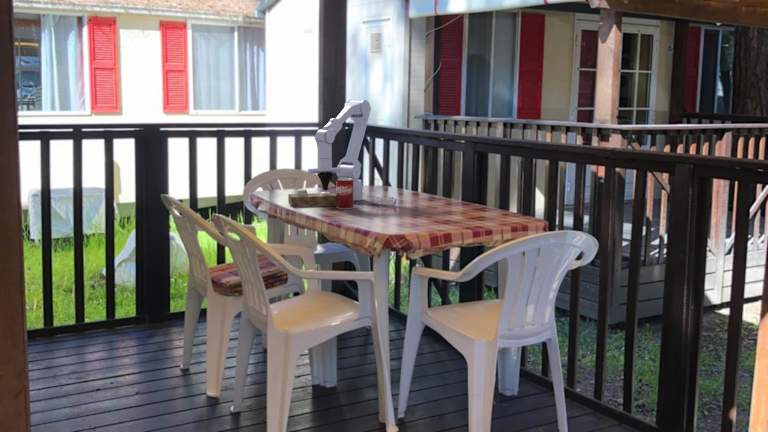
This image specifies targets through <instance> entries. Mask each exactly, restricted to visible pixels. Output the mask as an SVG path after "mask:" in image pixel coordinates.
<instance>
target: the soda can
mask: <svg viewBox="0 0 768 432" xmlns="http://www.w3.org/2000/svg"><path fill="white" fill-rule="evenodd" d="M335 193H336V206H335V207H336V209H338V210H352V209H354V207H355V201H354V180H353V179H350V178H340V179H339V178H337V179H336V180H335Z"/></svg>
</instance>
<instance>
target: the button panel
mask: <svg viewBox="0 0 768 432" xmlns="http://www.w3.org/2000/svg"><path fill="white" fill-rule="evenodd" d="M319 194H320V192H318V193H308V196H296V193H288V195H287V197H288V201H287V202H288V203H289V204H290V205H289V206H290V207H291V208H299V207H300V208H302V207H303V208H305V207H306V208H307V207H328V206H329V207H331V206H335V207H336V192H330V194H331V195H326V196H320V195H319Z"/></svg>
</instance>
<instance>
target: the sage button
mask: <svg viewBox="0 0 768 432" xmlns="http://www.w3.org/2000/svg"><path fill="white" fill-rule="evenodd" d="M295 194H296V196H308V194H309V193H308V191H307V189H296V191H295Z"/></svg>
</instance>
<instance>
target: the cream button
mask: <svg viewBox="0 0 768 432" xmlns="http://www.w3.org/2000/svg"><path fill="white" fill-rule="evenodd" d="M319 193H320V194H319V195H320V196H326V195H331V194H330V193H331V192H329V191H320V192H319Z"/></svg>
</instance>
